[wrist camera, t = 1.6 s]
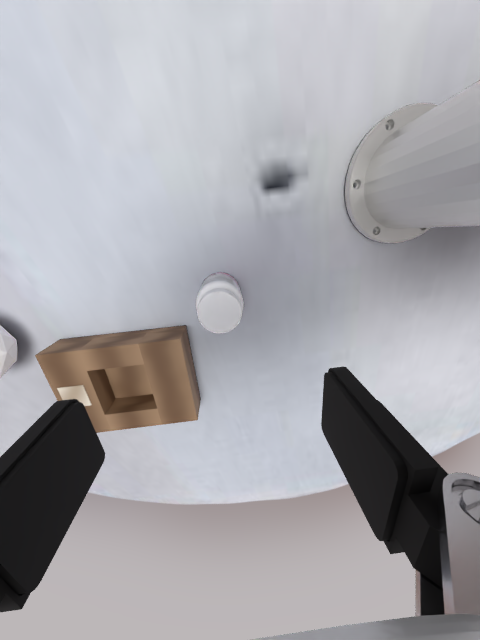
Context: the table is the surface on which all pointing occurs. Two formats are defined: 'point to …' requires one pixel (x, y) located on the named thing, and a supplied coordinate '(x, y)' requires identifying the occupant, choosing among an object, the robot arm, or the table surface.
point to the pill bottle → (219, 303)
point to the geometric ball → (7, 351)
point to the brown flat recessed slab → (126, 377)
